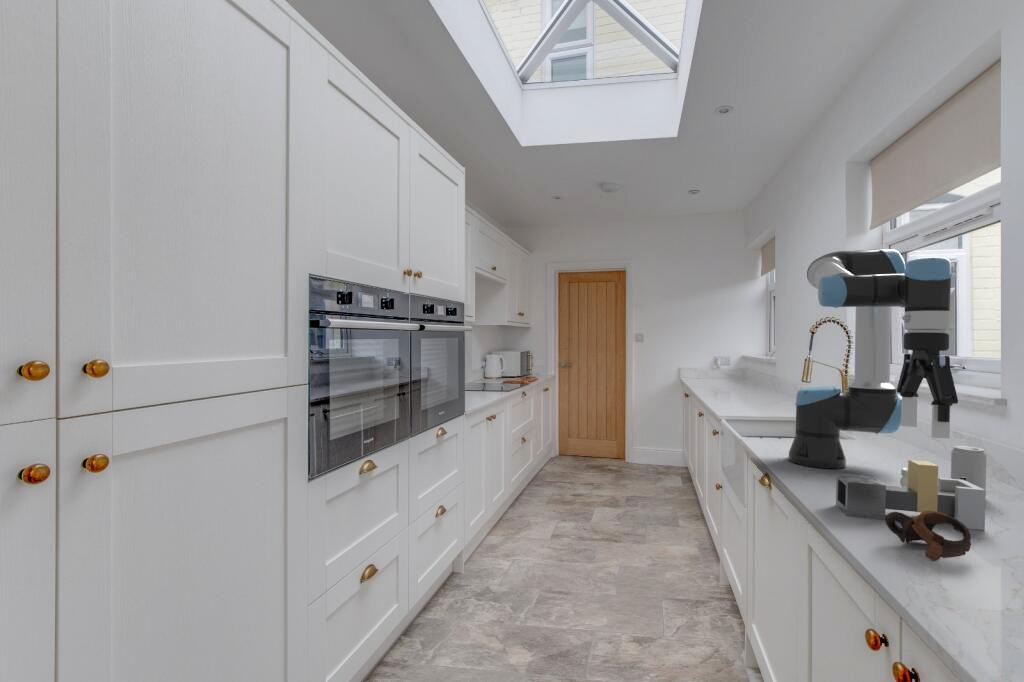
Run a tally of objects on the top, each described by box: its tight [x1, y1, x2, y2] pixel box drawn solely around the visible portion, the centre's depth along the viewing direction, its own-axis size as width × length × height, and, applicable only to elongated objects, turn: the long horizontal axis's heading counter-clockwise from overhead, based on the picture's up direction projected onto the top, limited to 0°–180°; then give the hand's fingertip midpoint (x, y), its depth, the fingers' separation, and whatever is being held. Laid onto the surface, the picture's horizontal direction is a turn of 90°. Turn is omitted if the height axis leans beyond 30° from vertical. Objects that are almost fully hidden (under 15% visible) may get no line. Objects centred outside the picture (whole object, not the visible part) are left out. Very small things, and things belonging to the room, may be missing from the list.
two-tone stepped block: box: [885, 459, 955, 515], centre depth 109 cm, size 4×17×10 cm, turn 74°
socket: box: [938, 477, 987, 531], centre depth 107 cm, size 8×4×8 cm, turn 164°
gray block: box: [835, 472, 887, 521], centre depth 112 cm, size 7×7×7 cm
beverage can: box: [950, 445, 987, 498], centre depth 125 cm, size 6×6×12 cm
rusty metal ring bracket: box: [884, 511, 972, 562], centre depth 91 cm, size 12×10×8 cm
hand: (923, 431), depth 109 cm, fingers open, 13 cm apart
